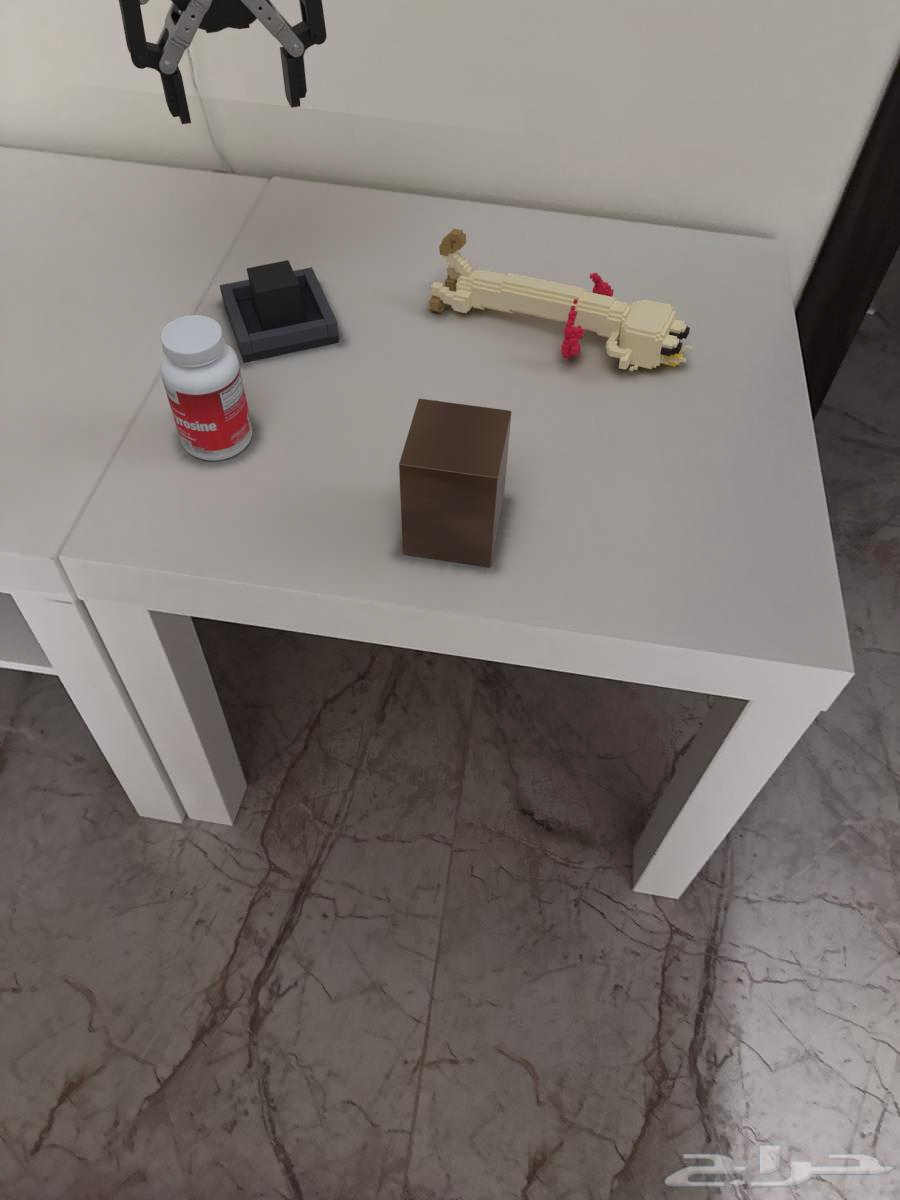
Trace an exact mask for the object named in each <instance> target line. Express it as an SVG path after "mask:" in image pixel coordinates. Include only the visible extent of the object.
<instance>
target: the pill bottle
mask: <svg viewBox="0 0 900 1200" xmlns="http://www.w3.org/2000/svg"><path fill="white" fill-rule="evenodd" d="M160 342H161V346H162V351H163V353H164V354H163V356H162V358H161V360H160V365H159V371H160V376H161V380H162V384H163V386H164V389H165V393H166V396H167V400H168V404H169V407H170V410H171V413H172V417H173V420H174V424H175V427H176V430H177V435H178V437H179V440H180V443H181V445H182V447H183V449H184V450H185V451H186V452H187V453H188V454H190V455H191V456H193V457H195V458H197V459H200V460H205V461H209V462H211V461H212V462H213V461H214V462H217V461H223V460H227V459H229V458H232V457H235V456H237V455H238V454H240V453H241V452H242V451H244V450H245V449H246V447H247V446H248V445H249V444H250V443H251V439H252V437H253V425H252V420H251V415H250V411H249V410H250V409H249V405H248V400H247V395H246V391H245V385H244V380H243V377H242V372H241V366H240V362H239V357H238V355H237V354H236V353H237V352H236V351H235V350H234V348H232V347H231V346H230V345H229V344H228V343H226V339H225V336H224V333H223V328H222V327H221V325H220V323H219V322H218V321H217V320H215V319H214V318H212V317H209V316H206V315H202V314H188V315H183V316H180V317H177V318H174V319H172V320H171V321H169V322H168V323H167V324H165V326H164V327H163V328H162V330H161V333H160Z"/></svg>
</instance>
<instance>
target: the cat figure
mask: <svg viewBox="0 0 900 1200" xmlns="http://www.w3.org/2000/svg"><path fill="white" fill-rule="evenodd" d="M466 244H467V234H466V233H464V229H458V228H453V229H452V230H450V232H449V233H447V234H446V235H445V236H444V237H443V238H442V239H441V242H440V244H439V246H438V247H439V248H438V249H439V255H440V256H442V259H445V262H446V263H448V265H447V266H446V274H447V275H446V276H447V278H446V279H445V280H444V283H443V282H438V281H434V282H433V283H432V284H431V286H430V295H431V298H430V299H429V300H428V306H429V310H431V311H432V312H434V313H439V314H442V313H443V311H445V308H446V305H450V306H451V308H452V311H454V312H457V313H463V314H467V313H468V312H470V310H471V309H472V308H474V309H477V310H482V311H485V309H489V310H494V311H497V312H503V313H506V314H507V313H508V314H513V313H514V312H515V313H519V314H524V315H528V316H533V317H537V318H542V319H547V320H551V321H556V322H560V323H565V327H564V329H563V330H564V331H563V337H564V338H563V340H562V345H560V346H561V348H560V351H561V352H560V355H562V356H563V357H562V359H563V360H567V359H568V360H570V359H572V358H573V357H574V356H577V357H578V356H579V355H580V353H581V345H582V344H581V343H579V341H580V340H583V339H584V335H585V333H586V332H585V331H589V332H593V333H596V335H597V336H599V337H603V338H607V341H606V343H605V349H606V354H608V357H612V358H615V359H619V361H618V363H619V364H618V369H621V370H626V369H629V370H628V371H629V372H633V371H637V370H638V369H639V368H645V369H648V370H652V369H653V368H654V369H656V368H657V367H660V366H661V364H662V365H666V366H671V367H676V366H681V363H683V364H686V361H687V357H685V356H684V354H683V353H685V352H686V351H688V352H692V349H693V346H692V345H688V344H686V345H685V346H684V347H683V342H681V341H683V339H685V340H686V339H687V338H688V337H689V334H690V330H691V327H690V326H688V325H689V324H688V323H686V321H684V320H680V319H677V315H678V312H677V310H675V308H674V306H673V305H672V304H669V303H665V302H659V301H655V300H649V299H644V298H642V299H641V300H640V299H638V300H637V301H633V302H632V304H629V302H625V301H619V300H618V298H616V297H614V289H613V288H612V286H611V284H609V282H606V281H604V279H602V277H601V275H599V273H598V272H592V273H590V274H589V279H590V280H592V283H593V285H594V286H593V287H592V292H591V291H587V289H586V288H585V287H580V286H575V285H572V284H571V285H570V284H566V283H561V282H556V281H551V280H547V279H542V278H537V277H533V276H528V275H522V274H518V273H514V272H513V273H512V272H508V273H507V274H504V273H499V272H496V271H495V272H494V271H489V270H486V269H474V267H473V266H471V263H469V262H468V260H467V259H465V256H463V255H462V253H461V252H459V251H460V250H461V249H463V247H464V246H465V245H466ZM618 344H619V345H618ZM629 366H630V367H629Z"/></svg>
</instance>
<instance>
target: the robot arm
mask: <svg viewBox="0 0 900 1200" xmlns="http://www.w3.org/2000/svg"><path fill="white" fill-rule="evenodd" d="M149 1H150V0H118V3H119V5H118V6H119V9H120V10H119V11H120V16H121V20H122V25H123V32H124V36H125V42H126V48H127V50H128V52H129V54H130V59H131V62H132V65H133V66H134V67H135V68H137V69H140V70H143V69H146V68H148V69H153V70H155V71H157V72H158V73H159V74H160V80H161V85H162V89H163V95H164V99H165V102H166V105H167V108H168V111H169V112H170V114H171V116H172V117H173V118H177V117H178V118H179V120H180V124H181V125H188V124H192V119H191V115H190V111H189V105H188V100H187V94H186V89H185V84H184V80H183V75H182V72H181V70H180V67H179V64H180V62H181V59H183V55H184V53H185V51H186V49H188V48H189V47H190V46H191V44H192V42H193V40H194V38H195V35H196V33H197V31H198V30H202V31H205V32H206V34H214V33H218V32H221V31H223V30H225V29H229V28H230V29H235V30H243V29H250V28H251V27H250V25H252V24H254V23H255V22H256V20H258V21H259V22H260V24H262V25H263V27H264V28H265V29H266V30H267V31H268V32H269V33H270V34H271V36H272V37H274V38H275V39H276V40H277V42H279V44H280V45H281V46H279V52H280V61H281V68H282V69H281V70H282V77H283V86H284V87H283V88H284V94H285V98H286V101H287V102H288V105H289V106H290V108H291V109H292V108H293V109H294V108H300V107H301V99H306V95H307V92H308V87H307V78H306V68H305V67H306V66H305V53H306V51H307V50H309V48H310V47H313V46H314V45H317V46H319V45H323V44H324V43H325V42H326V40H327V37H328V36H327V29H326V21H325V14H324V13H325V12H324V6H323V0H298V3H299V9H300V17H301V21H299V22H298V23H296V24H295V25H293V26H292V25H291V24H290V23H289V22H288V20H287V19H286V18H285V17H284V16H283V14H282V13H281V12H280V11H279V10H278V8H277V7H276V6H275V5H274V3H273V2H272V1H271V0H170V1H171V4H170V7H169V9H168V11H167V13H166V16H165V19H164V25H163V28H162V30H161V32H160V34H159V37H158V39H157V41H156V43H154V42H149V41H147V39H146V30H145V26H144V20H143V14H142V8H141V6H144V5H146V4H148V2H149Z"/></svg>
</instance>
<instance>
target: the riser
mask: <svg viewBox="0 0 900 1200" xmlns="http://www.w3.org/2000/svg"><path fill="white" fill-rule="evenodd" d="M416 402H417V403H416V406H415V408H414V413H413V416H412V420H411V423H410V427H409V429H408V432H407V437H406V440H405V443H404V447H403V450H402V453H401V456H400V458H399V459H400V460H399V463H398V471H399V472H398V473H399V496H400V518H401V522H400V523H401V540H402V542H401V545H402V555H405V556H410V557H411V556H412V557H418V558H423V559H431V560H436V561H437V560H438V561H443V562H444V561H445V562H452V563H458V564H463V565H471V566H477V567H478V566H479V567H485V568H491V567H492V563H493V557H494V551H495V549H496V548H495V547H496V542H497V537H498V534H499V533H498V532H499V526H500V521H501V516H502V513H503V512H502V511H503V507H504V502H505V501H504V500H505V489H506V479H507V478H506V477H507V467H508V455H509V446H510V434H511V433H510V432H511V425H512V424H511V421H512V413H513V412H512V410H509V409H502V408H494V407H487V406H479V405H472V404H471V405H470V404H464V403H457V402H456V403H455V402H450V401H449V402H448V401H440V400H433V399H427V398H426V399H425V398H418V399H417V401H416Z"/></svg>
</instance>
